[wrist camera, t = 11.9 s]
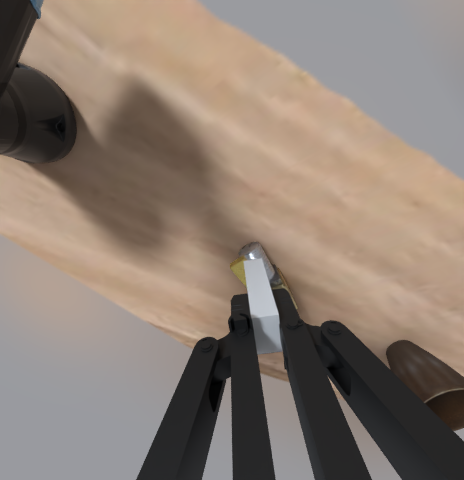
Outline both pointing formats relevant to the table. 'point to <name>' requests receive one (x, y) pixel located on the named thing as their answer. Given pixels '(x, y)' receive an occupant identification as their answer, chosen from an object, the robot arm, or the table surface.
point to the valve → (266, 266)
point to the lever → (239, 269)
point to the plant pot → (429, 381)
